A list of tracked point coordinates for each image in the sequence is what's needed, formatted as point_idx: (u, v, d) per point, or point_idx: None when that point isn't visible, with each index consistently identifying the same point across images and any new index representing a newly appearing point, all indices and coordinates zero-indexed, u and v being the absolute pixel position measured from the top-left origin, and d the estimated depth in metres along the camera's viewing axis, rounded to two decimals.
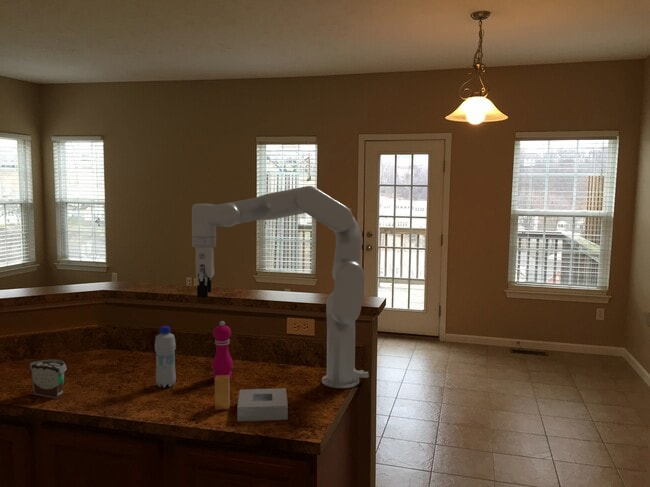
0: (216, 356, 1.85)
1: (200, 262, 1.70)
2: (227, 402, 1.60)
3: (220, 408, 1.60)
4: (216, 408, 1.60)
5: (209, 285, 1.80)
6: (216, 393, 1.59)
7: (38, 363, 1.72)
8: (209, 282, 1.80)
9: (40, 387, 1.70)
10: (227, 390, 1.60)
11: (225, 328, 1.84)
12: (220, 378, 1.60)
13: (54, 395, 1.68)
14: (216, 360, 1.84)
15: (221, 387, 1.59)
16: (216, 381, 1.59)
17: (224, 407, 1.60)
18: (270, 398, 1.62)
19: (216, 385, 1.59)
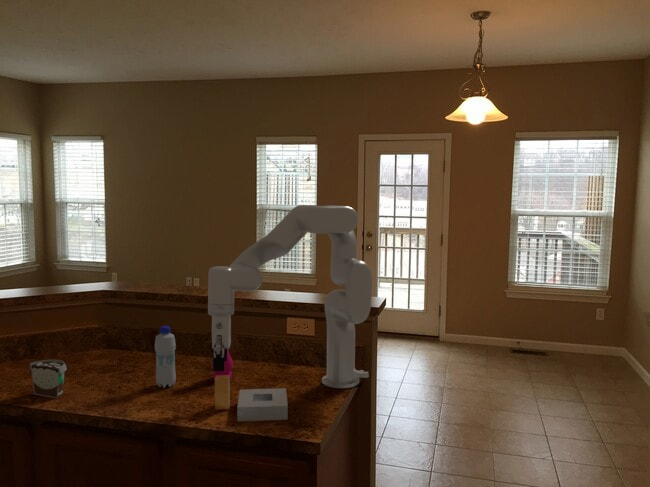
0: None
1: (217, 333, 1.55)
2: (227, 402, 1.60)
3: (220, 408, 1.60)
4: (216, 408, 1.60)
5: (225, 353, 1.65)
6: (216, 393, 1.59)
7: (38, 363, 1.72)
8: (225, 350, 1.65)
9: (40, 387, 1.70)
10: (227, 390, 1.60)
11: None
12: (220, 378, 1.60)
13: (54, 395, 1.68)
14: None
15: (221, 387, 1.59)
16: (216, 381, 1.59)
17: (224, 407, 1.60)
18: (270, 398, 1.62)
19: (216, 385, 1.59)
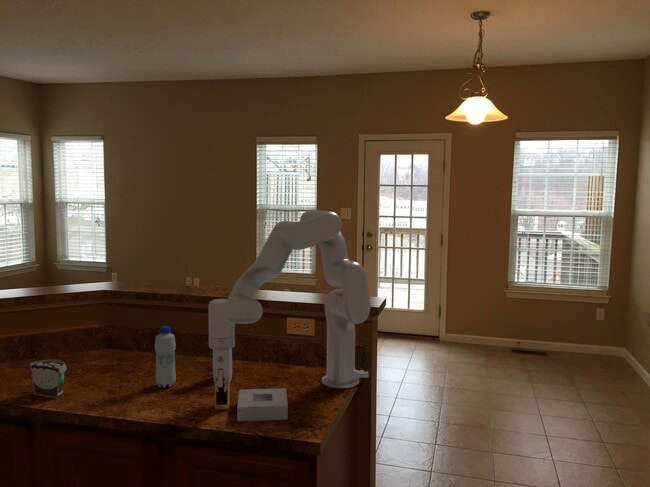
0: None
1: (219, 366, 1.56)
2: (227, 402, 1.60)
3: (220, 408, 1.60)
4: (216, 408, 1.60)
5: None
6: None
7: (38, 363, 1.72)
8: None
9: (40, 387, 1.70)
10: (227, 390, 1.60)
11: None
12: None
13: (54, 395, 1.68)
14: None
15: None
16: (216, 381, 1.59)
17: (224, 407, 1.60)
18: (270, 398, 1.62)
19: (216, 385, 1.59)
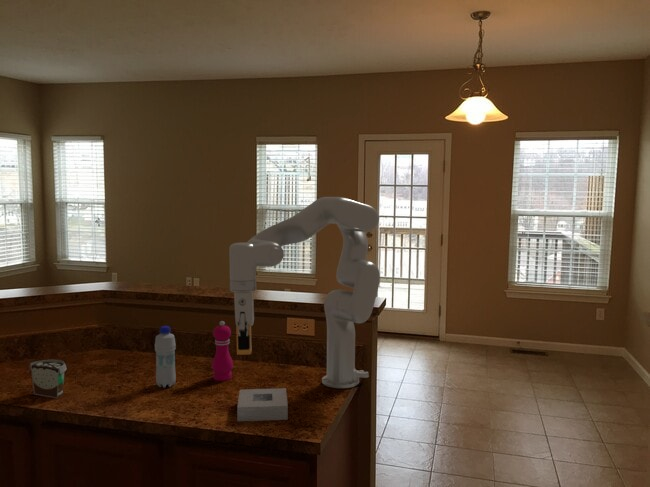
0: (216, 356, 1.85)
1: (240, 309, 1.53)
2: None
3: (242, 353, 1.57)
4: (238, 353, 1.57)
5: None
6: (237, 338, 1.57)
7: (38, 363, 1.72)
8: None
9: (40, 387, 1.70)
10: (249, 335, 1.57)
11: (225, 328, 1.84)
12: None
13: (54, 395, 1.68)
14: (216, 360, 1.84)
15: None
16: None
17: (246, 352, 1.57)
18: (270, 398, 1.62)
19: (238, 330, 1.56)
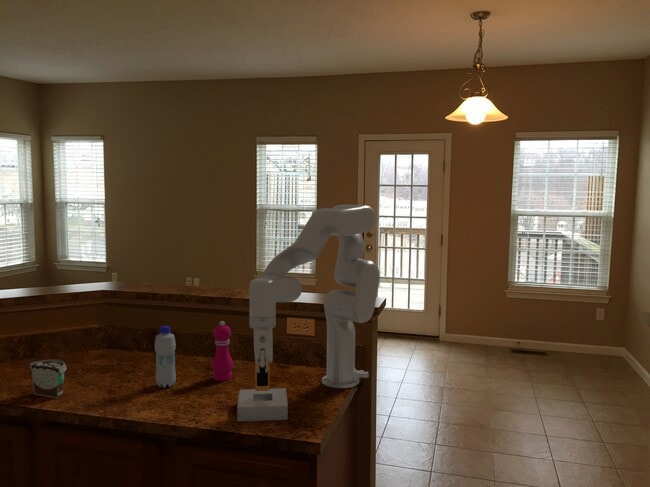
0: (216, 356, 1.85)
1: (260, 346, 1.52)
2: (268, 383, 1.57)
3: (260, 389, 1.56)
4: (256, 389, 1.56)
5: None
6: (256, 374, 1.56)
7: (38, 363, 1.72)
8: None
9: (40, 387, 1.70)
10: (268, 371, 1.56)
11: (225, 328, 1.84)
12: None
13: (54, 395, 1.68)
14: (216, 360, 1.84)
15: None
16: (257, 362, 1.56)
17: (265, 388, 1.57)
18: (270, 398, 1.62)
19: (257, 366, 1.56)
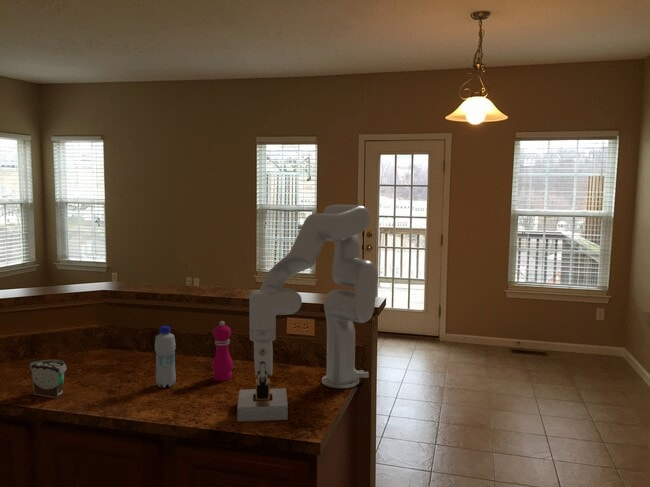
0: (216, 356, 1.85)
1: (261, 359, 1.53)
2: None
3: None
4: None
5: None
6: None
7: (38, 363, 1.72)
8: (266, 377, 1.62)
9: (40, 387, 1.70)
10: (268, 394, 1.57)
11: (225, 328, 1.84)
12: None
13: (54, 395, 1.68)
14: (216, 360, 1.84)
15: None
16: None
17: None
18: (270, 398, 1.62)
19: None
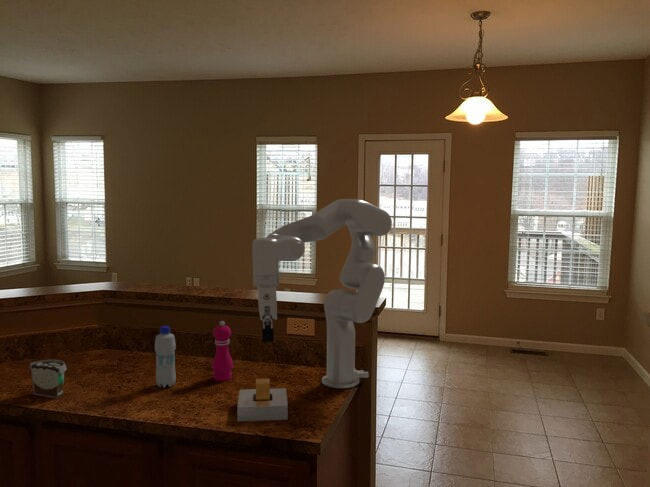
0: (216, 356, 1.85)
1: (265, 304, 1.54)
2: None
3: None
4: None
5: None
6: (257, 397, 1.56)
7: (38, 363, 1.72)
8: None
9: (40, 387, 1.70)
10: (268, 394, 1.57)
11: (225, 328, 1.84)
12: (261, 382, 1.57)
13: (54, 395, 1.68)
14: (216, 360, 1.84)
15: (262, 390, 1.56)
16: (257, 385, 1.56)
17: None
18: (270, 398, 1.62)
19: (257, 389, 1.56)
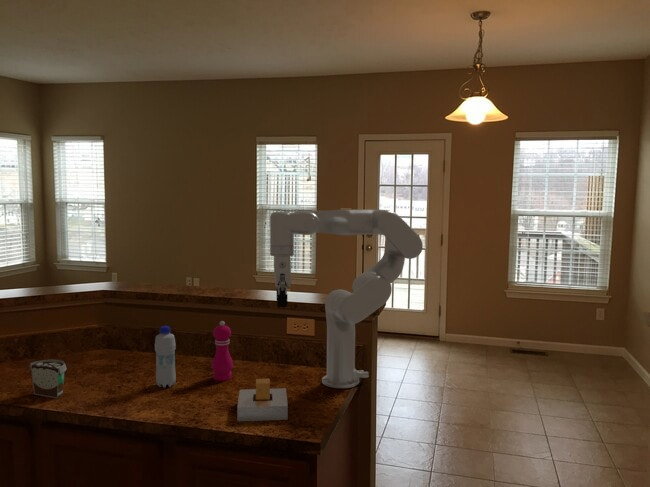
0: (216, 356, 1.85)
1: (280, 271, 1.68)
2: None
3: None
4: None
5: None
6: (257, 397, 1.56)
7: (38, 363, 1.72)
8: None
9: (40, 387, 1.70)
10: (268, 394, 1.57)
11: (225, 328, 1.84)
12: (261, 382, 1.57)
13: (54, 395, 1.68)
14: (216, 360, 1.84)
15: (262, 390, 1.56)
16: (257, 385, 1.56)
17: None
18: (270, 398, 1.62)
19: (257, 389, 1.56)
